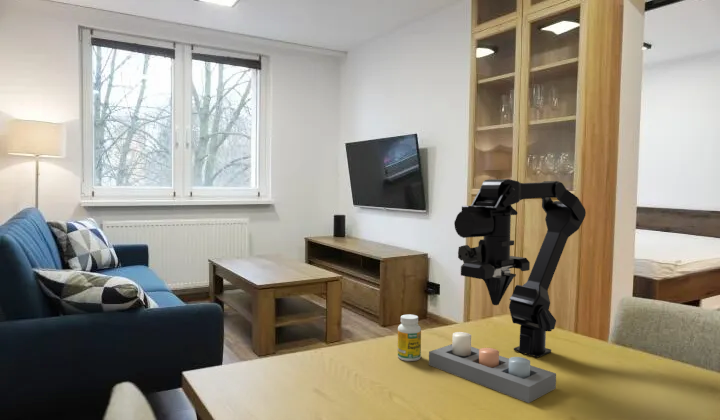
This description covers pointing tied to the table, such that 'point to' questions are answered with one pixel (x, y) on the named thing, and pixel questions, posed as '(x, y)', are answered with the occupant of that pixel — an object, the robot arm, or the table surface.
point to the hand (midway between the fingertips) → (495, 304)
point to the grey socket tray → (494, 374)
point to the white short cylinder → (461, 344)
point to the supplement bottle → (409, 338)
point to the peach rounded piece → (489, 357)
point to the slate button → (519, 367)
